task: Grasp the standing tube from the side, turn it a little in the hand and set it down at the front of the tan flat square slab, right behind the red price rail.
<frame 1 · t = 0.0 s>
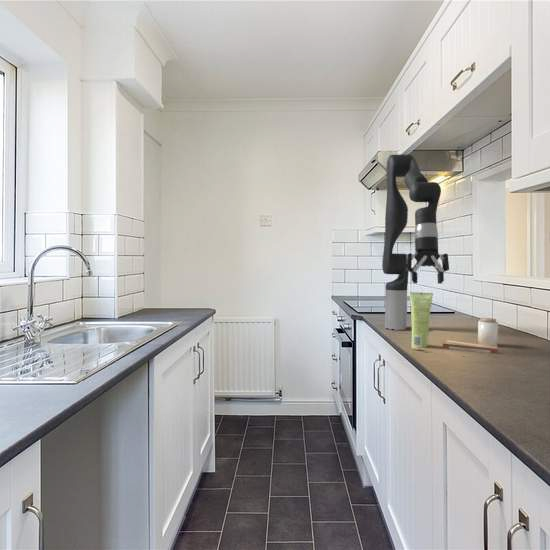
hand: (427, 283, 134), 22 cm above the countertop, tool pointing down, fingers open, 8 cm apart
jar: (487, 344, 134), point 1 cm above the countertop, touching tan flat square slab
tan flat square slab: (470, 349, 132), on the countertop
tube: (420, 349, 131), on the countertop
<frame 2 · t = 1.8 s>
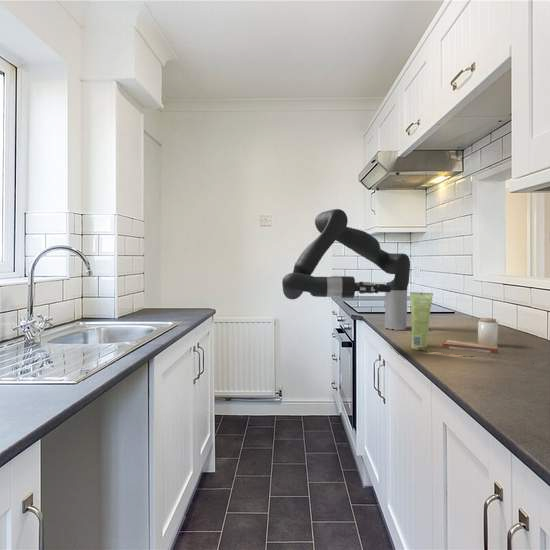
hand: (387, 288, 131), 21 cm above the countertop, tool horizontal, fingers open, 8 cm apart
nothing on the countertop moved.
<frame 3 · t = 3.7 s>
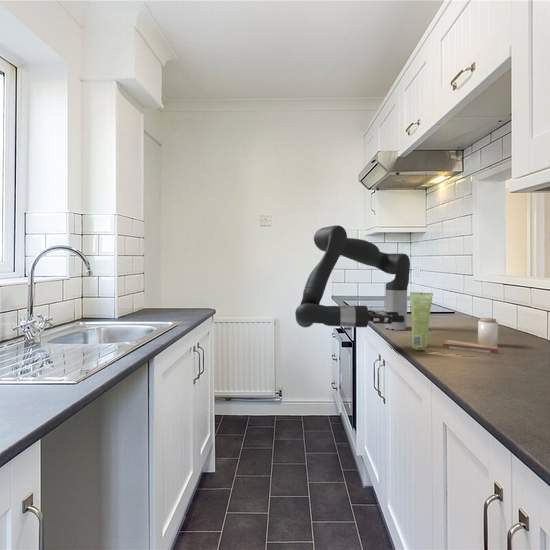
hand: (401, 317, 132), 11 cm above the countertop, tool horizontal, fingers open, 8 cm apart
nothing on the countertop moved.
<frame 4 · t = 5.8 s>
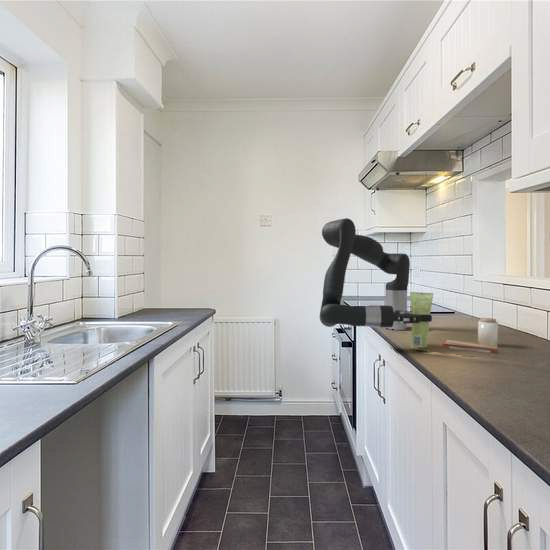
hand: (428, 317, 131), 11 cm above the countertop, tool horizontal, fingers closed on tube, 4 cm apart
tube: (420, 349, 131), on the countertop, touching gripper
everything else where it was.
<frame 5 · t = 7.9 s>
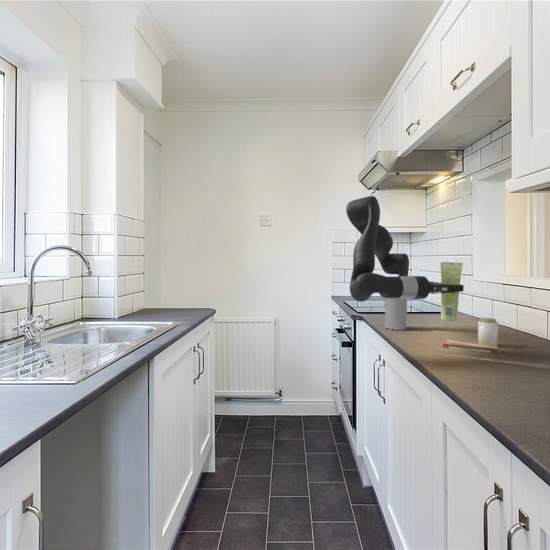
hand: (458, 287, 129), 21 cm above the countertop, tool horizontal, fingers closed on tube, 4 cm apart
tube: (449, 321, 128), point 10 cm above the countertop, touching gripper
everything else where it was.
when the fingers open (13 cm above the countertop, at t = 10.2 s): tube drops 1 cm, resting on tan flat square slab.
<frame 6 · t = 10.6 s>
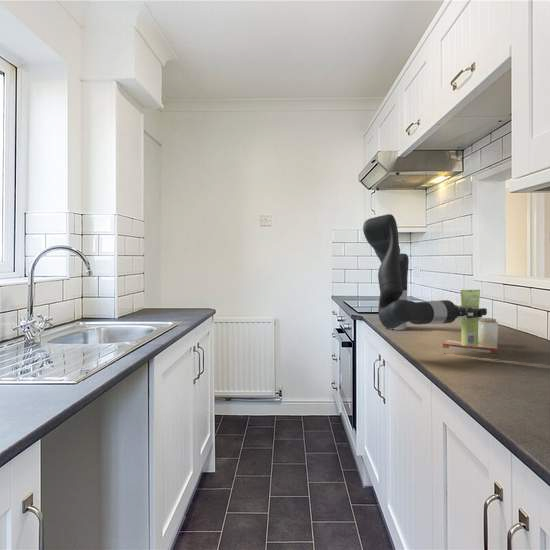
hand: (475, 310, 129), 14 cm above the countertop, tool horizontal, fingers open, 7 cm apart
tube: (470, 347, 129), point 1 cm above the countertop, touching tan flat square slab
everything else where it was.
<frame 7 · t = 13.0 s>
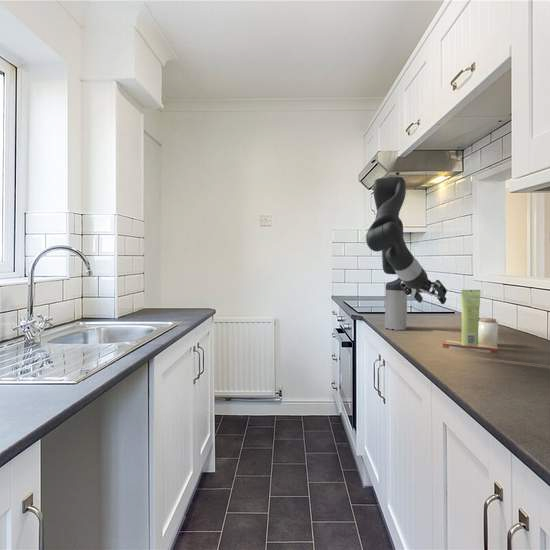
hand: (432, 301, 130), 17 cm above the countertop, tool tilted 50°, fingers open, 8 cm apart
nothing on the countertop moved.
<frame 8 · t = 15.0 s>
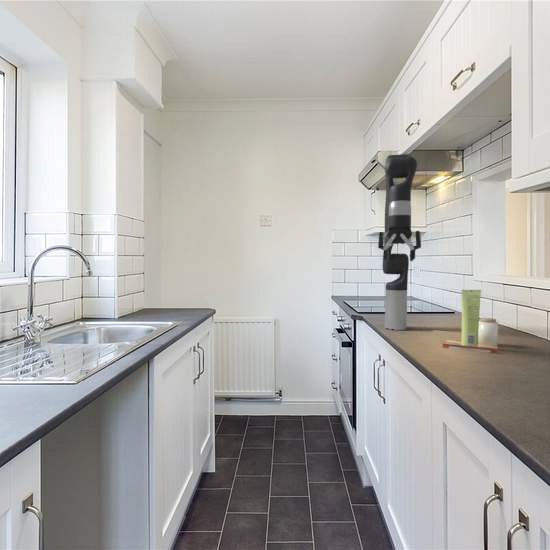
hand: (398, 261, 136), 30 cm above the countertop, tool pointing down, fingers open, 8 cm apart
nothing on the countertop moved.
at the end: tube inside the target area (0.4 cm from its centre), point 1.0 cm above the countertop; tube tilted 0°; the gripper is holding nothing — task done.
